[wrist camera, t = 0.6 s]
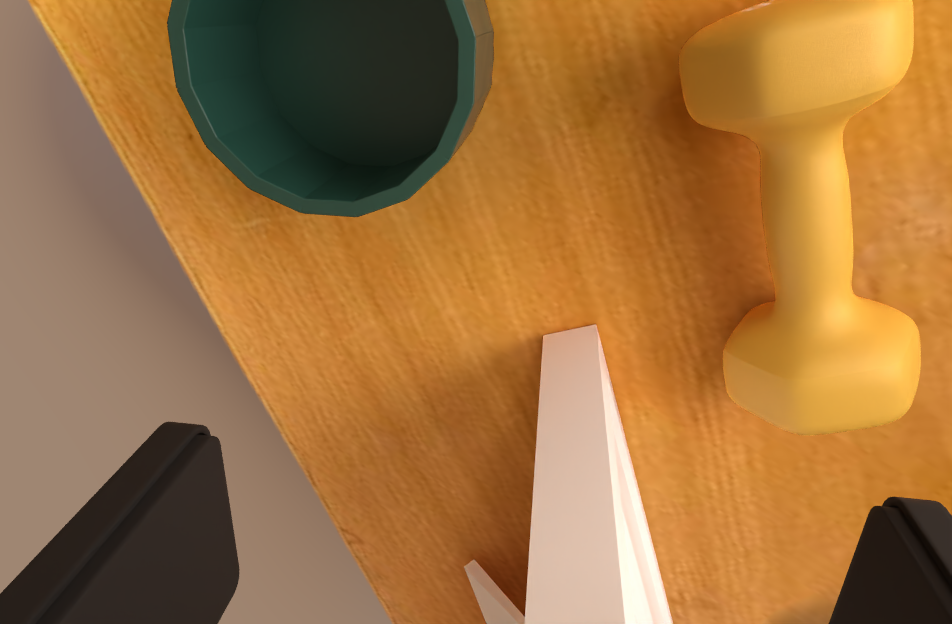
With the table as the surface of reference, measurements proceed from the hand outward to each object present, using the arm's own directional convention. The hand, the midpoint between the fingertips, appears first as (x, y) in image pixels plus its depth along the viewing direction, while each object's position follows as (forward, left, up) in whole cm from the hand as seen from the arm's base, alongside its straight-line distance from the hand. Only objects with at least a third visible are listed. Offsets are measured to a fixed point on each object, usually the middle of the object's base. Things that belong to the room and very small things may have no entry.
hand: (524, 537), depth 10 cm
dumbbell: (+1, +12, -28) cm, 30 cm away
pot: (-5, -9, -27) cm, 29 cm away
